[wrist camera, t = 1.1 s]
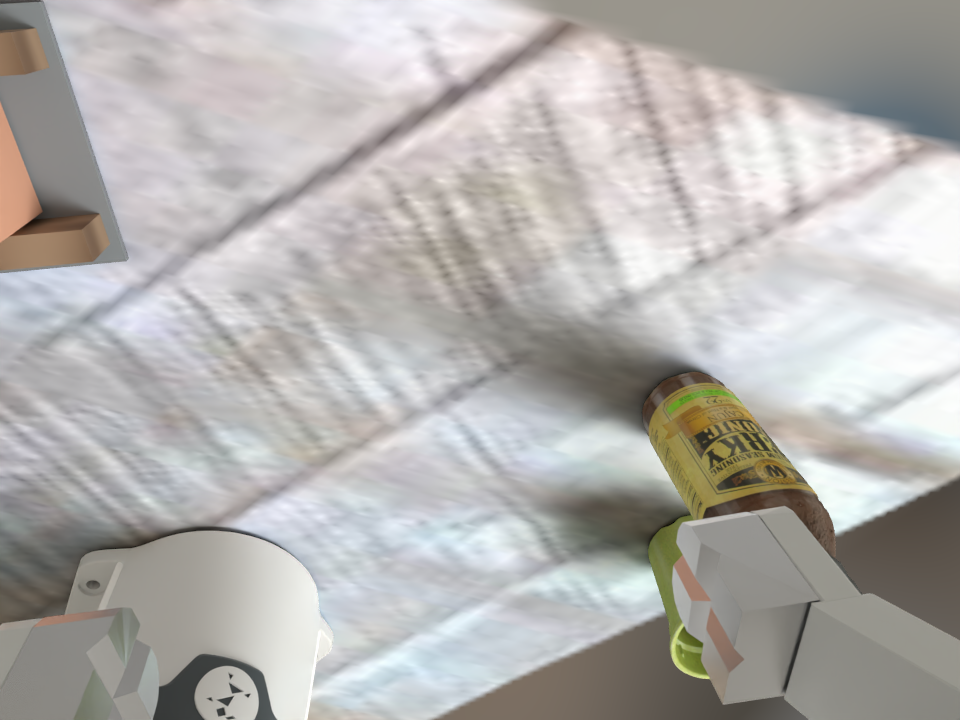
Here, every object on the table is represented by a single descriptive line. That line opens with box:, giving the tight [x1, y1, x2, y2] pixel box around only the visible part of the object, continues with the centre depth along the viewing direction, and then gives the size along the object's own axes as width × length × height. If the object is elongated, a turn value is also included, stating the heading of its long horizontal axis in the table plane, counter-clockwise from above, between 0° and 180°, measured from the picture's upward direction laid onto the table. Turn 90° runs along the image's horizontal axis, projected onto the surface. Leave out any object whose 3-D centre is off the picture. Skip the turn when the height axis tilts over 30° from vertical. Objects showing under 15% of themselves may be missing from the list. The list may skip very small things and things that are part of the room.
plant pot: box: [648, 515, 710, 679], centre depth 49 cm, size 9×9×9 cm
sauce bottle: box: [642, 372, 863, 595], centre depth 37 cm, size 6×6×20 cm
